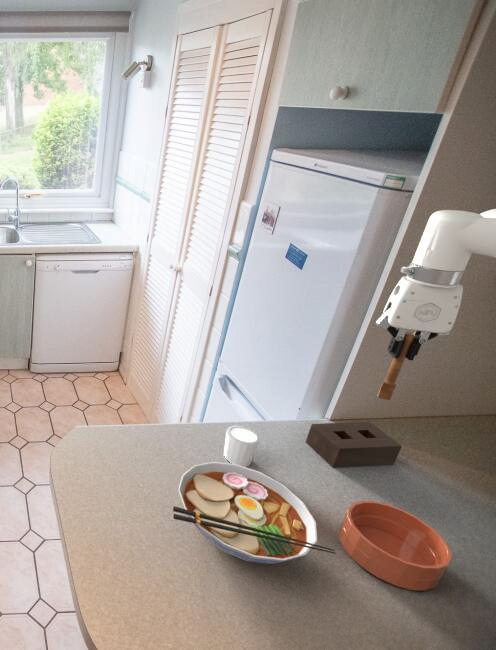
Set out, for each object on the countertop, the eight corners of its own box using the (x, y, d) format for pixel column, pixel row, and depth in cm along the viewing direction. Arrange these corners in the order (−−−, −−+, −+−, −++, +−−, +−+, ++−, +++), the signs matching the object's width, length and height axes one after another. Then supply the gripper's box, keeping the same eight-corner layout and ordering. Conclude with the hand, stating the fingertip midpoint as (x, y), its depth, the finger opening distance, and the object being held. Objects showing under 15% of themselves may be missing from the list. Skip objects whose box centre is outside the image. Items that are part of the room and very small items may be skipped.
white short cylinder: (224, 466, 104) (230, 441, 101) (217, 446, 110) (223, 423, 107) (257, 471, 102) (264, 446, 99) (248, 451, 108) (255, 427, 105)
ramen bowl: (295, 506, 93) (306, 475, 90) (331, 611, 73) (347, 577, 70) (165, 476, 101) (171, 446, 98) (166, 564, 81) (174, 531, 78)
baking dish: (414, 536, 86) (426, 512, 84) (455, 604, 74) (470, 579, 72) (328, 515, 91) (337, 492, 88) (353, 577, 79) (364, 552, 76)
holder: (305, 442, 111) (311, 423, 109) (362, 439, 112) (369, 421, 110) (332, 467, 103) (340, 448, 101) (393, 464, 104) (402, 445, 101)
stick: (388, 397, 101) (415, 332, 94) (390, 401, 99) (417, 336, 93) (375, 395, 102) (401, 330, 95) (378, 399, 100) (404, 334, 94)
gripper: (393, 276, 88) (362, 358, 96) (498, 285, 83) (456, 371, 91) (377, 265, 95) (349, 342, 102) (474, 273, 90) (437, 354, 97)
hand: (400, 355), depth 96 cm, fingers closed on stick, 1 cm apart
